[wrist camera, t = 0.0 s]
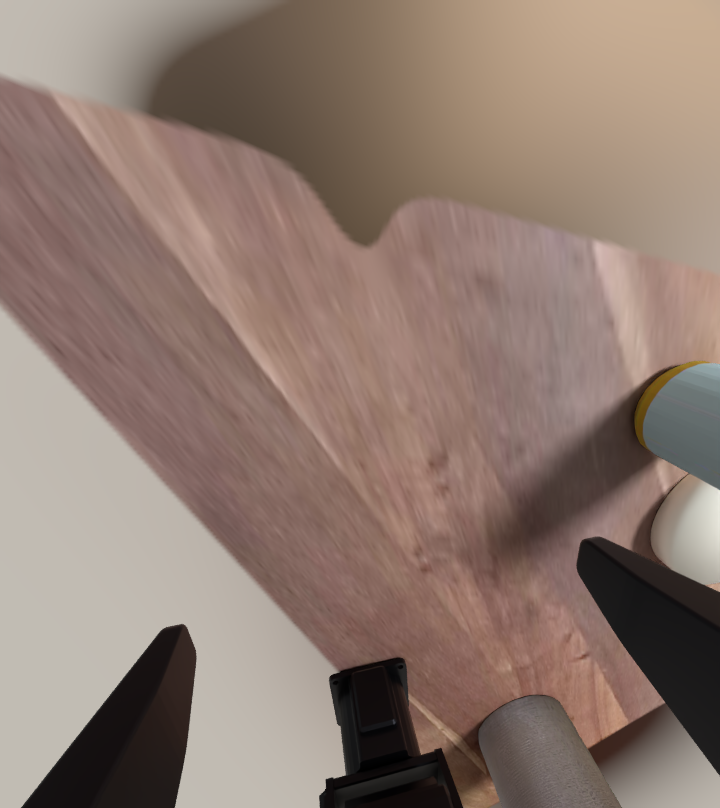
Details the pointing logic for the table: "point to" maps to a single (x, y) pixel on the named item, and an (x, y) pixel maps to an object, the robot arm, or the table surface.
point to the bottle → (684, 419)
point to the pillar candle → (541, 758)
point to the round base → (689, 530)
